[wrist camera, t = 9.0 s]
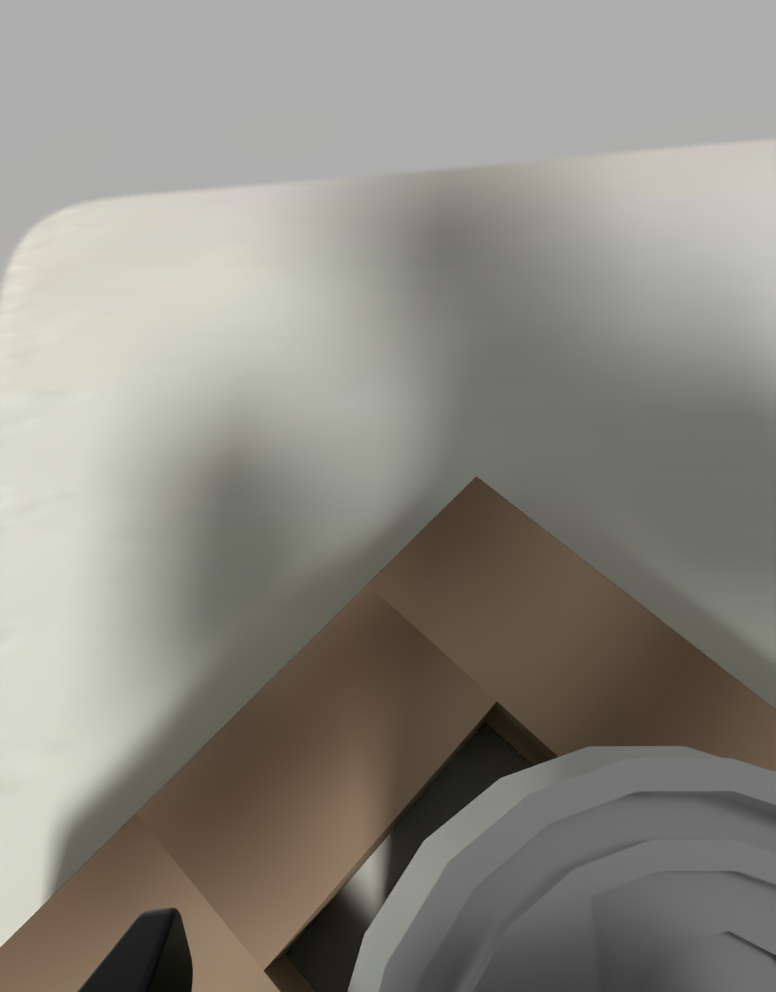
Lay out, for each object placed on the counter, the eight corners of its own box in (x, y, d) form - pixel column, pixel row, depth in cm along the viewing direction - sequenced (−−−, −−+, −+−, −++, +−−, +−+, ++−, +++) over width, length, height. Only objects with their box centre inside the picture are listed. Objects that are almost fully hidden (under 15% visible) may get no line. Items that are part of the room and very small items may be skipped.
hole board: (983, 937, 15) (1084, 950, 13) (570, 1748, 10) (613, 1989, 8) (468, 520, 19) (476, 476, 17) (34, 961, 15) (-31, 978, 13)
